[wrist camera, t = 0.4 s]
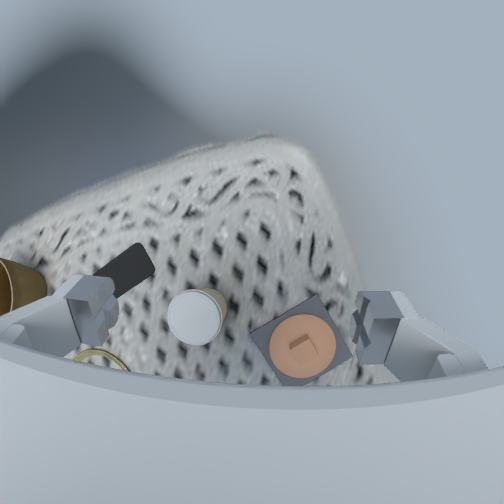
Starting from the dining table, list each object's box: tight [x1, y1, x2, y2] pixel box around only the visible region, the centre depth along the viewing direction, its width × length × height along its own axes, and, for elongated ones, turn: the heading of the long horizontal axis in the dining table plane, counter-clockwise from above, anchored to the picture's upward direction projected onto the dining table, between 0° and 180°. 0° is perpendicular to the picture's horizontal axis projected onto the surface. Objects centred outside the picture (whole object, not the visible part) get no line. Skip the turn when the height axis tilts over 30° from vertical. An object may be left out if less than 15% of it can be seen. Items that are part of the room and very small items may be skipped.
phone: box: [92, 243, 155, 299], centre depth 63 cm, size 7×1×15 cm
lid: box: [269, 314, 336, 378], centre depth 57 cm, size 13×13×5 cm
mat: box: [250, 294, 353, 386], centre depth 60 cm, size 15×15×1 cm
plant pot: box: [0, 258, 47, 316], centre depth 57 cm, size 15×15×16 cm
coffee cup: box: [167, 288, 227, 345], centre depth 56 cm, size 9×9×12 cm
